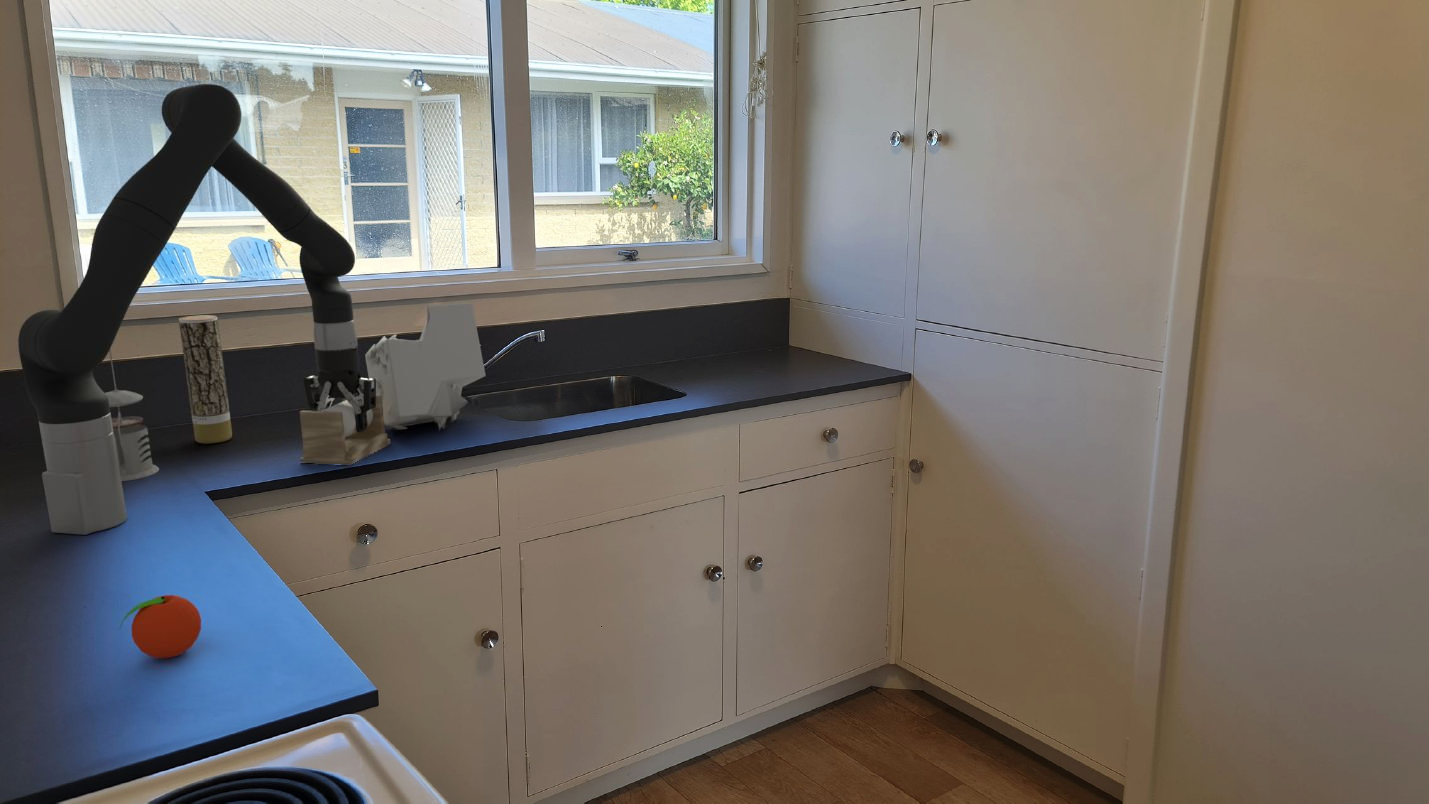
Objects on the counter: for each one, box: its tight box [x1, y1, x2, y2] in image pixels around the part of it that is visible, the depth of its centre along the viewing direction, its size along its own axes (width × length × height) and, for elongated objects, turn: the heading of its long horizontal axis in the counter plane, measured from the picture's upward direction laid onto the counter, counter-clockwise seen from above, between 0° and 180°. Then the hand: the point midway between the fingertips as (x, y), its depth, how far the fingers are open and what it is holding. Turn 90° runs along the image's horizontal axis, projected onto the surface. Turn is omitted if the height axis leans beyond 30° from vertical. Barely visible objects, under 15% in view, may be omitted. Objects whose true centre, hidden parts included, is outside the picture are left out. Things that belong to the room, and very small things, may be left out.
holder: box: [299, 393, 392, 465], centre depth 188 cm, size 15×10×10 cm, turn 169°
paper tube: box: [178, 314, 233, 445], centre depth 196 cm, size 7×7×25 cm
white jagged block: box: [364, 301, 487, 431], centre depth 205 cm, size 20×16×25 cm
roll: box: [322, 400, 373, 438], centre depth 188 cm, size 11×6×6 cm, turn 169°
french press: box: [104, 339, 160, 482], centre depth 175 cm, size 10×12×25 cm
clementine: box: [118, 594, 202, 659], centre depth 111 cm, size 8×7×7 cm
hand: (344, 430), depth 188 cm, fingers closed on roll, 6 cm apart
